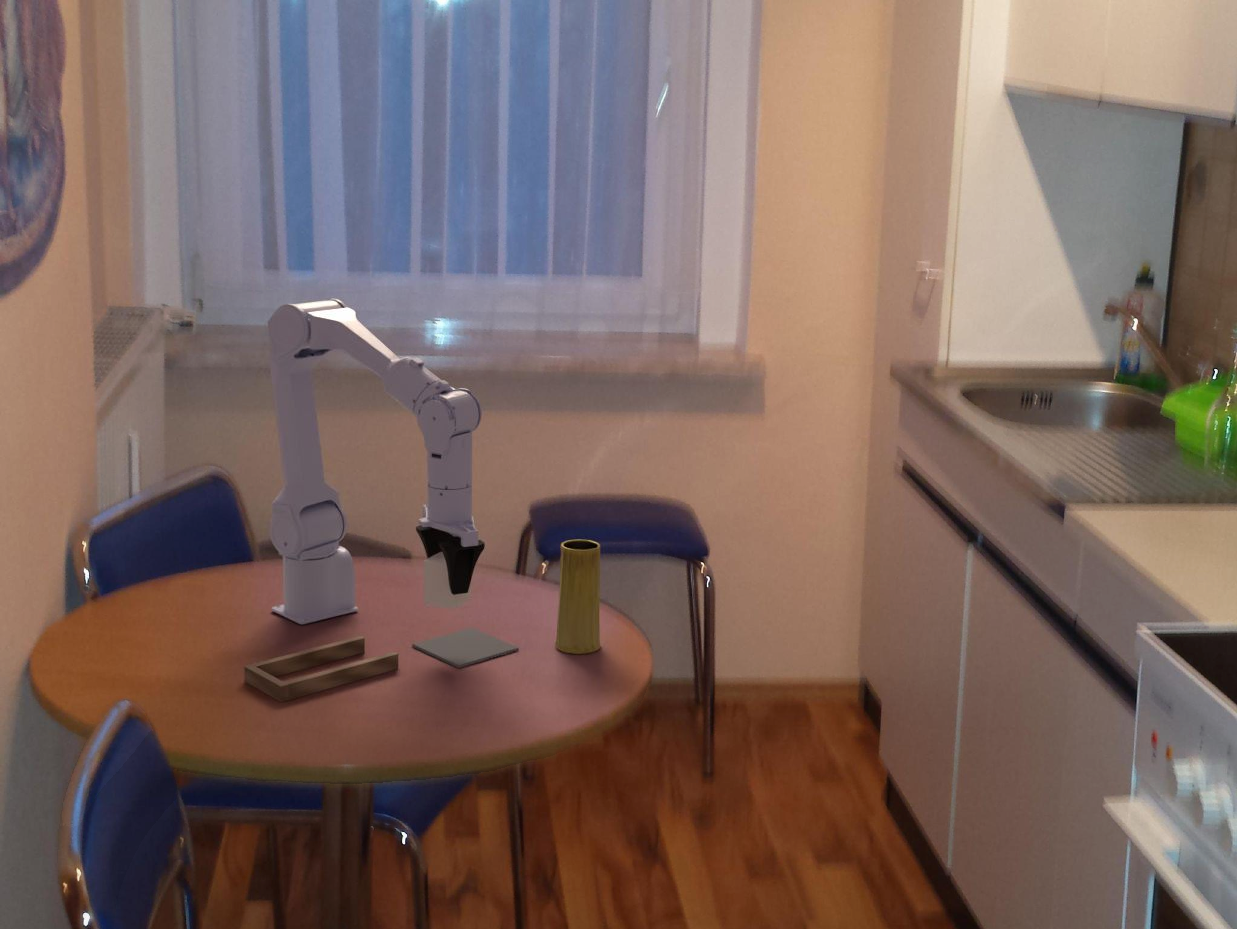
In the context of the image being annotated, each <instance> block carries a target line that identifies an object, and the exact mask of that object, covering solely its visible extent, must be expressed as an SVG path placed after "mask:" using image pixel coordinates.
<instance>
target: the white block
mask: <svg viewBox="0 0 1237 929" xmlns="http://www.w3.org/2000/svg"><path fill="white" fill-rule="evenodd" d="M422 565H423V606H429V607H433V608H434V607H435V608H441V609H445V610H446V609H447V610H457V609H459V607H461V606H463V605H464V604H467V603H468V602H470V601H471V597H472V596H471V594H472V593H471V592H472V591H471V590H472V589H471V588H472V587H471V583H470V587H469V590H468V593H463V594H456V595H453V594H452V593H451V590H450V586H449V579H448V570H447V565H446V561H445V558H444V555H443V552H439V553H437V554H435V555H433V556H432V557H430V558H428V559H427V558H426V559H424V560H423V564H422Z"/></svg>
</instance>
